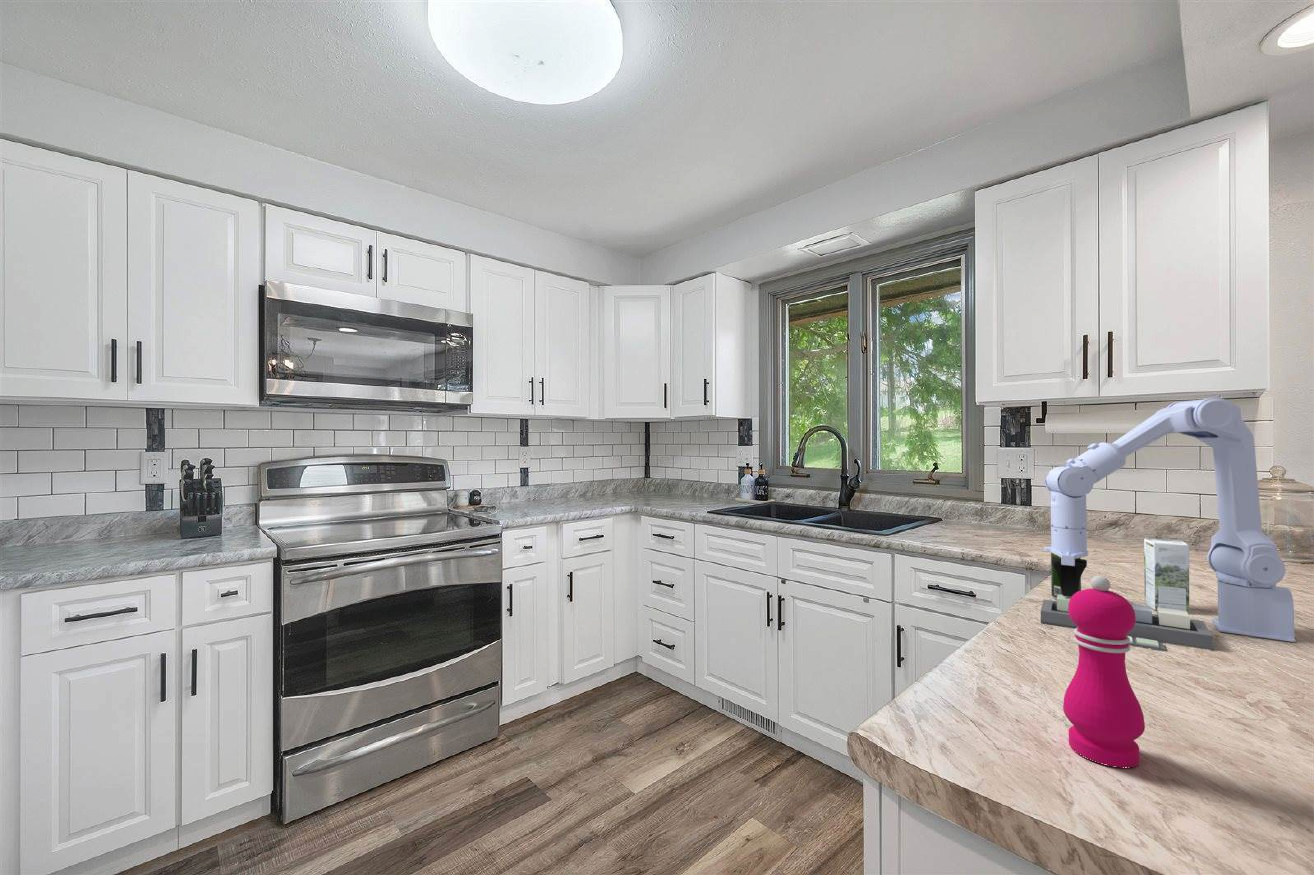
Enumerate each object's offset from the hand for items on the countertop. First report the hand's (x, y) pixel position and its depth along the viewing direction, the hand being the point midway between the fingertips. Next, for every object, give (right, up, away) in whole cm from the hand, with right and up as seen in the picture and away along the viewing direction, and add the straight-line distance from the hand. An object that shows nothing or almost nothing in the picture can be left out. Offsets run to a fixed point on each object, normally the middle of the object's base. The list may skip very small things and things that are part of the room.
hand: (1069, 596), depth 110 cm
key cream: (+12, -2, -9) cm, 15 cm away
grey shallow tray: (+6, -5, -5) cm, 9 cm away
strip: (+1, -5, -11) cm, 12 cm away
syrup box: (+26, -5, +8) cm, 28 cm away
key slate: (+8, -2, -6) cm, 10 cm away
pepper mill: (-31, -5, -47) cm, 56 cm away
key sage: (0, -3, 0) cm, 3 cm away
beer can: (+10, -5, +15) cm, 19 cm away
